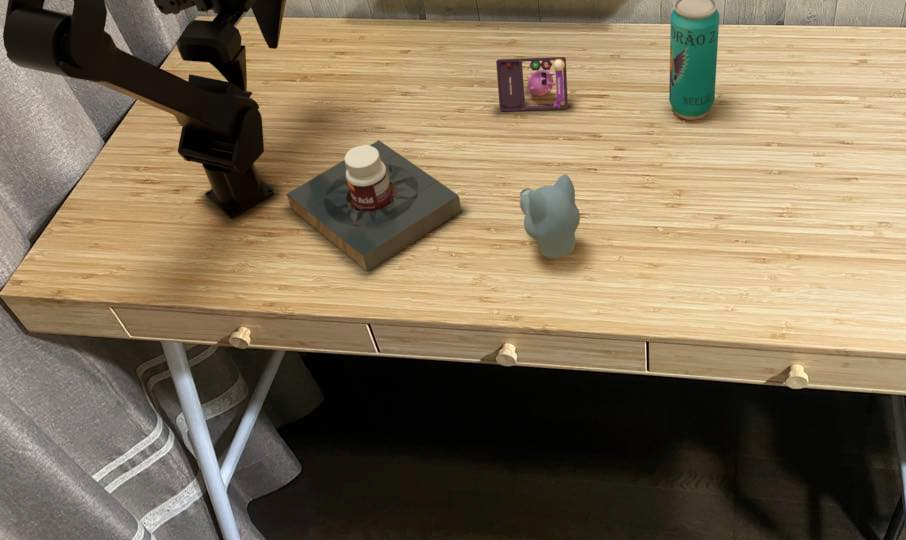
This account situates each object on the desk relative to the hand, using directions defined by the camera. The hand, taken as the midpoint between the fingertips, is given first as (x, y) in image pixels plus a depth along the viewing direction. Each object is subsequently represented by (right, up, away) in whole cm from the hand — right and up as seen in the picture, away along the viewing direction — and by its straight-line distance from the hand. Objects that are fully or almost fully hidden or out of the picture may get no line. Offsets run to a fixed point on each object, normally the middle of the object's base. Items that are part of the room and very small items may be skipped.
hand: (258, 69), depth 123 cm
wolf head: (+35, -22, -7) cm, 42 cm away
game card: (+34, -1, +12) cm, 36 cm away
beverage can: (+54, -3, +8) cm, 55 cm away
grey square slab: (+15, -17, -1) cm, 23 cm away
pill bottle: (+15, -17, -1) cm, 23 cm away
